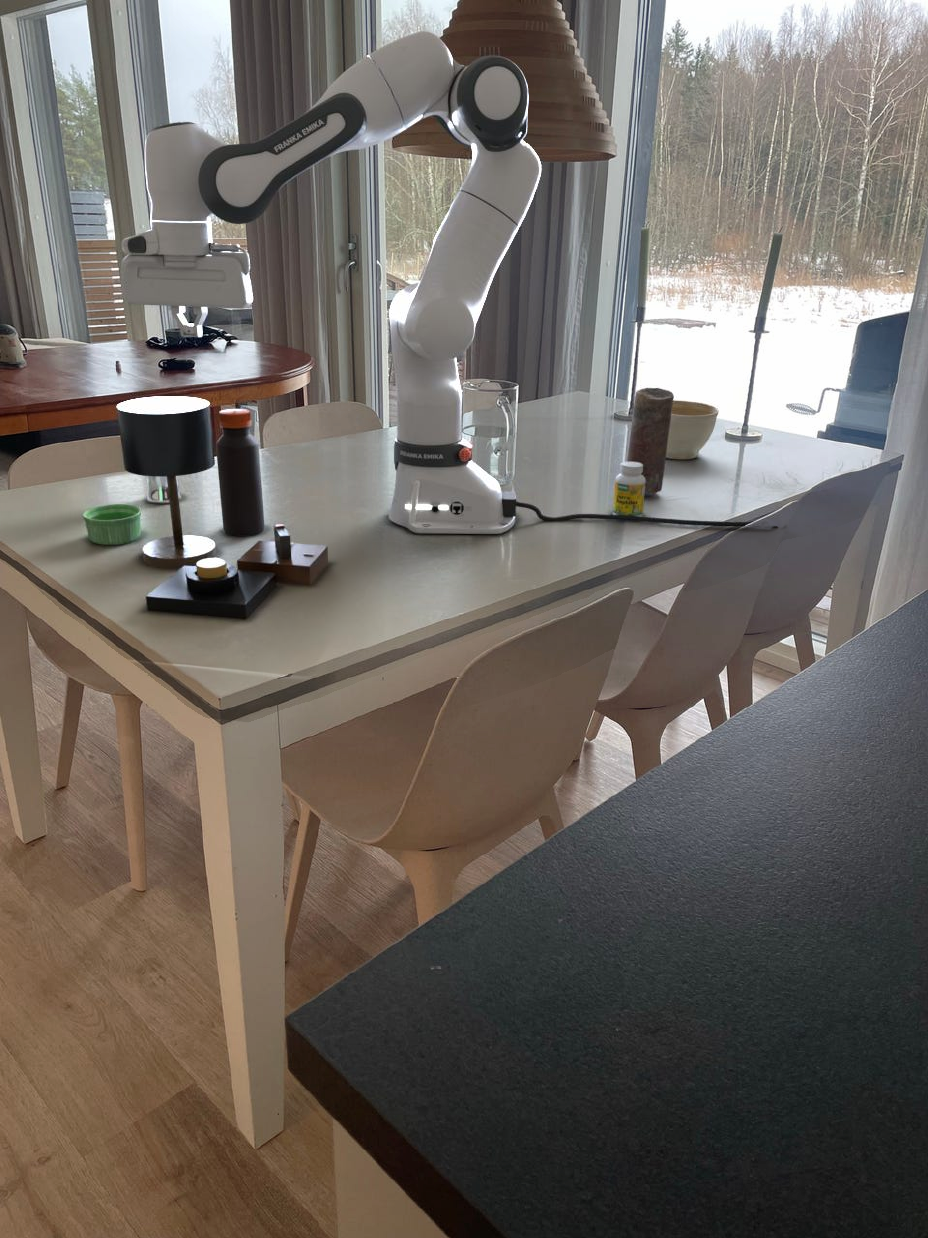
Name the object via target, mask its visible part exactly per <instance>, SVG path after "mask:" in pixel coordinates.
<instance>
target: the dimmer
mask: <svg viewBox="0 0 928 1238" xmlns="http://www.w3.org/2000/svg"><path fill="white" fill-rule="evenodd" d="M328 565H329V547H328V545H322V544H321V545H318V544H305V543H295V542H294V541H292V542H291V558H283V559H281V557H280V555H279V553H278V552H277V550H276V548H275V541H268V540H267V541H265V540H258V541H256V542H255V544H253V546H251V547H250V548H249V549H248V550H247V551H246V552H245V553H244V554H242V555H241V556H240V557H239V558H238V559H237V560H236V568H237V570H246V571H259V572H271V573H276V578H277V584H288V585H289V584H290V585H303V586H312V584H313V583H314V582H315V581H316V579H317V578H318V577H319V576H320V575H321V574H322V572H323V571H324V570H325V569H326V568H327V566H328Z"/></svg>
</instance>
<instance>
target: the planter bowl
mask: <svg viewBox="0 0 928 1238" xmlns="http://www.w3.org/2000/svg"><path fill="white" fill-rule="evenodd" d="M719 412H720V410H719V408H718V407H716V406H713V405H711V404H707V403H704V402H697V401H689V400H674V399H673V406H672V413H671V421H670V428H669V435H668V444H667V452H666V459H670V460H671V459H672V460H687V461H688V460H692V459H695V458H698V455H699V452H700V450H702V449H703V447H705V446H706V444H707V442H708V441H709V439H710V438H711V437H712V434H713V432H714V429H715V426H716V422H717V419H718V415H719Z"/></svg>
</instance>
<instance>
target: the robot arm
mask: <svg viewBox="0 0 928 1238" xmlns="http://www.w3.org/2000/svg"><path fill="white" fill-rule="evenodd" d="M528 109H529V88H528V83H527V80H526V76H525V75H524V73H523V71H522V70H521V69H520V67H519V66H518V65H517V64H516V63H515V62H513V61H512V60H510V59H509V58H506V57H504V56H500V55H495V54H494V55H484V56H481V57H479V58H477V59H474V61H471V63H470V64H468V65H463V64H460V63H458V62H457V61H456V60H455V59H454V58H453V56H452V54H451V52H450V50H449V48H448V47H447V45H446V44H445V42H444V41H443V40H442V39H441V38H440V37H438V35H436V34H434V33H433V32H431V31H427V30H426V31H425V30H424V31H423V30H421V31H417V32H414V33H412V34H408V35H406V36H403V37H400V38H398V39H396V40H393V41H391V42H389V43H387V44H385V45H383V46H381V47H379V48H378V49H376V50H374V51H372V52H370V53H369V54H367V55H366V56H364V57H362V58H361V59H359V60H358V61H357V62H355V63H353V64H352V65H351V66H350V67H349V68H347V69H346V70H345V71H344V72H343V73H342V74H340V75H339V76H338V77H337V78H335V80H334V81H333V82H332V83H331V84H330V86H329V87H327V89H326V91H324V93H323V94H322V96H321V97H320V98H319V100H318V101H316V103H315V104H313V106H312V107H311V108H309V109H308V110H307V111H306V112H304V113H302V114H301V115H300V116H298V117H296V118H295V119H293V120H292V121H290V122H287V123H286V124H285V125H283V126H281V127H280V128H278V129H277V130H275V131H273V132H272V133H270V134H267V135H266V136H265V137H263V138H260V139H259V140H256V141H254V142H249V143H235V144H233V143H232V144H227V143H226V142H224V141H222V140H220V139H218V138H216V137H215V136H213V135H211V134H210V133H208V132H206V131H205V130H204V129H203V128H201V126H199V124H197V123H195V122H192V121H177V122H171V123H170V122H169V123H165V124H161V125H158V126H155V127H154V128H152V129H151V130H150V131H149V133H148V134H147V136H146V138H145V143H144V144H145V145H144V169H145V181H146V189H147V192H148V195H149V199H150V203H151V210H150V211H151V212H150V220H149V221H150V229H148V230H145V231H143V232H140V233H138V234H133V235H131V236H128V237H125V238H123V239H122V240H121V243H120V244H121V250H122V252H123V253H124V254H125V255H126V256H124V257H123V259H122V261H121V264H120V281H121V292H122V297H123V298H124V300H125V301H126V303H127V304H128V305H135V306H137V305H138V306H139V305H140V306H163V307H170V312H171V315H172V317H173V318H174V320H175V321H176V323H177V325H179V332H180V337H185V338H202V337H203V325H204V322H205V320H206V318H207V316H208V313H209V312H208V308H209V309H210V308H213V309H237V310H238V309H239V310H243V309H247V308H250V306H251V305H252V303H253V301H254V296H253V295H254V294H253V288H252V287H253V286H252V281H251V277H250V273H249V272H250V269H251V264H250V255H249V253H248V252H247V250H246V249H244V248H243V247H241V245H239V244H237V243H230V244H225V243H216V242H214V240H213V229H212V216H213V215H214V216H215V217H216V218H218V219H219V220H221V221H224V222H226V223H229V224H233V225H245V224H249V223H251V222H254V221H256V220H257V219H259V218H260V217H261V216H262V215H263V214H264V213H265V212H266V210H267V209H268V207H269V206H270V205H271V202H272V201H273V199H274V198H275V196H276V194H277V193H278V191H279V190H280V189H281V188H283V187H284V186H286V184H287V183H289V182H290V181H291V180H294V179H295V178H297V177H299V176H300V175H302V174H303V173H305V172H306V171H308V170H309V169H311V168H312V167H314V166H316V165H317V164H319V163H321V162H322V161H324V160H325V159H327V158H329V157H331V156H334V155H336V154H339V153H342V152H348V151H355V150H364V149H367V148H370V147H373V146H376V145H378V144H381V143H384V142H385V141H389V140H390V139H391V138H394V137H395V136H397V135H399V134H400V133H402V132H404V131H406V130H407V129H409V128H411V127H412V126H414V125H416V123H418V122H420V121H422V120H423V119H426V118H428V117H433V119H434V120H436V122H437V123H438V124H439V125H440V126H441V127H442V129H444V130H445V132H446V133H447V134H448V135H449V136H450V137H451V138H452V140H454V141H455V142H457V143H458V144H459V145H461V146H463V147H466V148H470V149H471V151H472V158H471V163H470V167H469V169H468V173H467V175H466V177H465V178H464V181H463V182H462V184H461V186H460V188H459V190H458V191H457V193H456V195H455V196H454V199H453V201H452V203H451V205H450V207H449V209H448V211H447V212H446V215H445V216H444V218H443V220H442V222H441V224H440V226H439V228H438V230H437V232H436V234H435V236H434V239H433V244H432V248H431V251H430V254H429V256H428V260H427V261H426V262H427V263H426V265H425V268H424V270H423V273H422V276H421V278H420V281H419V282H416V283H411V284H409V285H407V286H405V287H404V288H402V289H401V290H400V291H399V292H398V293H397V294H396V295H395V296H394V298H393V300H392V301H391V303H390V307H389V315H388V317H389V329H390V341H391V353H392V354H391V355H392V362H393V363H392V364H393V372H394V380H395V390H396V437H395V438H394V444H393V464H394V470H395V480H394V481H395V482H394V490H393V496H392V499H391V505H390V509H389V511H388V519H389V520H390V521H391V522H392V523H394V524H396V525H399V526H402V527H404V528H406V529H408V530H409V531H410V532H412V533H415V534H455V535H456V534H457V535H458V534H459V535H460V534H463V535H464V534H465V535H468V534H471V535H472V534H473V535H499V534H503V533H505V532H507V531H509V530H510V529H512V528H513V527H514V525H515V523H516V514H517V508H523V509H528V510H532V511H533V512H535V514H536V516H537V518H538V519H540V520H541V521H545V522H564V521H570V520H577V519H579V520H580V519H587V520H588V519H590V520H591V519H594V520H613V521H614V520H615V521H630V522H631V521H632V522H643V523H655V524H668V525H670V524H671V525H683V526H684V525H685V526H705V527H746V526H745V525H746V524H748V523H751V522H753V521H755V520H757V519H758V518H757V519H752V520H747V521H726V520H725V521H724V520H723V521H721V520H720V521H717V520H695V519H681V518H680V519H678V518H665V517H664V518H663V517H652V516H642V517H639V516H625V515H613V514H607V513H605V514H604V513H573V514H566V515H562V516H548V515H545V514H542V511H541V510H540V508H539V507H538V506H536V505H534V504H531V503H527V502H521V501H517V496H516V492H515V491H502V489H501V486H500V483H499V482H498V480H496V478H494V477H493V476H491V475H490V474H489V473H488V472H486V471H485V470H484V468H483V469H482V467H480V466H479V465H478V464H476V463H475V462H474V461H473V453H474V449H473V441H472V440H470V441H468V440H466V439H465V438H463V437H462V415H463V414H462V411H463V410H462V408H463V392H462V387H461V382H460V378H459V371H458V362H457V358H458V357H460V356H461V355H463V354H464V353H465V352H466V351H468V349H469V348H470V347H471V345H472V342H473V340H474V337H475V333H476V332H475V331H476V324H477V322H478V320H479V317H480V315H481V312H482V309H483V306H484V303H485V301H486V298H487V295H488V292H489V289H490V286H491V284H492V282H493V278H494V277H495V274H496V272H497V270H498V268H499V266H500V264H501V262H502V261H503V259H504V256H505V255H506V253H507V251H508V249H509V247H510V245H511V244H512V242H513V240H514V238H515V236H516V234H517V233H518V230H519V228H520V227H521V225H522V222H523V220H524V219H525V217H526V215H527V212H528V210H529V207H530V206H531V203H532V201H533V199H534V195H535V192H536V190H537V188H538V184H539V181H540V178H541V174H542V164H541V161H540V157H539V156H538V154H537V153H536V151H535V150H534V149H533V148H532V146H530V144H529V143H526V141H524V138H525V137H526V136H527V133H528ZM187 307H190V308H192V310H193V315H196V317H195V320H194V321H193V323H189V321H188V320H187V318H186V317H185V315H184V313H186V308H187Z"/></svg>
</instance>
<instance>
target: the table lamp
mask: <svg viewBox="0 0 928 1238" xmlns="http://www.w3.org/2000/svg"><path fill="white" fill-rule="evenodd" d="M115 408H116V414H117V421H118V423H117V424H118V430H119V431H118V432H119V437H120V438H119V439H120V446H121V453H122V461H123V468H124V471H126V472H127V473H130V474H133V475H137V476H143V477H147V476H154V477H167V485H168V494H169V502H170V503H169V512H170V518H171V519H170V520H171V529H172V536H165V537H161V538H157V539H154V540H151V541H149V542H148V543H146V544H144V545H143V546H142V548H141V553H142V560H143V562H144V563H146V565H148V566H151V567H154V568H159V569H181V568H182V567H183V566H196V563H197V562H198V561H200V560H203V559H207V558H216V556H217V544H216V542H215V541H214V540H213V539H211V538H209V537H206V536H200V535H190V534H186V535H184V534H183V526H182V525H183V524H182V518H181V517H182V515H181V508H180V500H179V497H178V487H177V481H178V477H180V476H187V475H193V474H198V473H202V472H206V471H208V470H210V469H211V468H214V467H215V465H216V458H215V449H214V439H213V427H212V417H211V416H212V415H211V403H210V402H209V401H208V400H206V399H203V398H199V397H191V396H169V395H168V396H150V397H140V398H135V399H130V400H126V401H125V400H124V401H123V402H120V403H118V404H117V405H116V407H115ZM176 476H177V478H176Z"/></svg>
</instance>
